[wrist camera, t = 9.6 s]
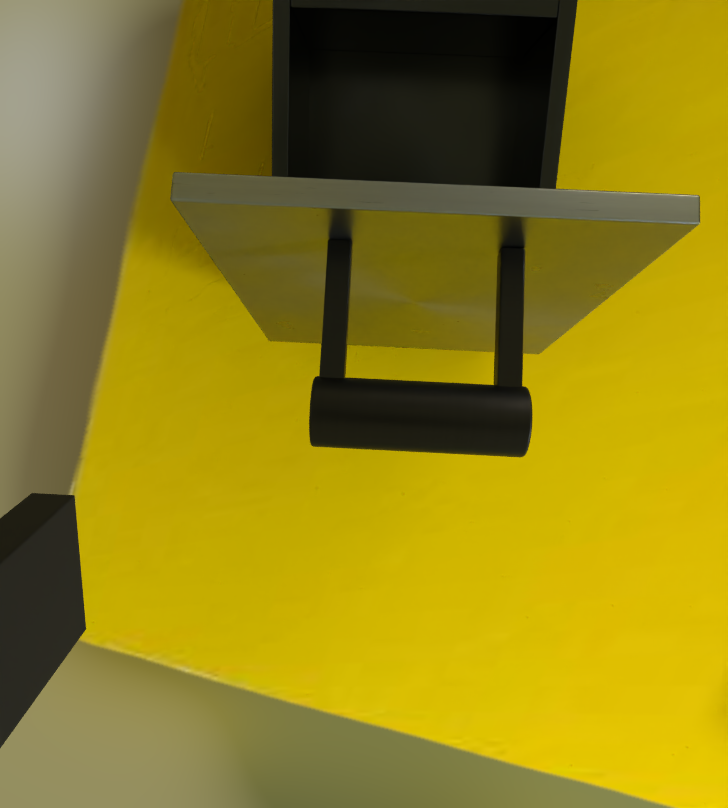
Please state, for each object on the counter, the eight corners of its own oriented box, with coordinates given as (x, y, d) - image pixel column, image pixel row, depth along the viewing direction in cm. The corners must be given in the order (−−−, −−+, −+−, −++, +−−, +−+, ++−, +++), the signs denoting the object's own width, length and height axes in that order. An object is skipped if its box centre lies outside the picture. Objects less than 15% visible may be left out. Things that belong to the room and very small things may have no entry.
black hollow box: (297, 36, 38) (272, -14, 30) (535, 46, 38) (578, -2, 30) (293, 308, 43) (270, 332, 34) (507, 318, 42) (537, 345, 34)
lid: (172, 170, 17) (147, 431, 16) (700, 194, 17) (703, 460, 16) (270, 325, 34) (260, 460, 33) (539, 338, 34) (537, 474, 33)
